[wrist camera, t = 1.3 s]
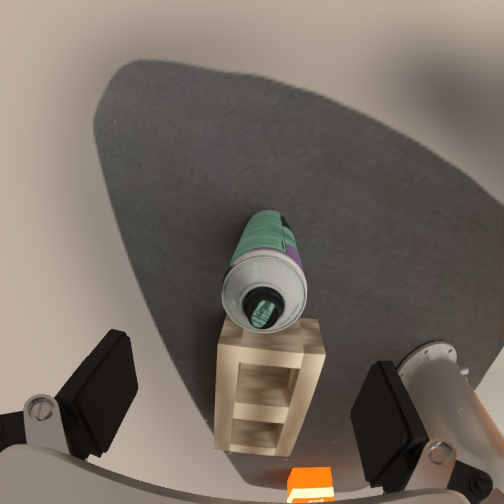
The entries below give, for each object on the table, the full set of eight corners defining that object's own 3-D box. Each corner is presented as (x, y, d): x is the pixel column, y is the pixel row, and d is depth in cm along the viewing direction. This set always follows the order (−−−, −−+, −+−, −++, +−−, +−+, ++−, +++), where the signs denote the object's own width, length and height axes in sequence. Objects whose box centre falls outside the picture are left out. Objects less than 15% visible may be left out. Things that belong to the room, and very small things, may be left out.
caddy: (317, 319, 37) (325, 354, 30) (288, 421, 44) (289, 456, 36) (228, 309, 38) (217, 343, 30) (220, 414, 44) (213, 448, 37)
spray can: (246, 255, 35) (218, 356, 16) (244, 210, 34) (206, 271, 15) (291, 253, 35) (311, 355, 16) (290, 208, 33) (314, 267, 14)
